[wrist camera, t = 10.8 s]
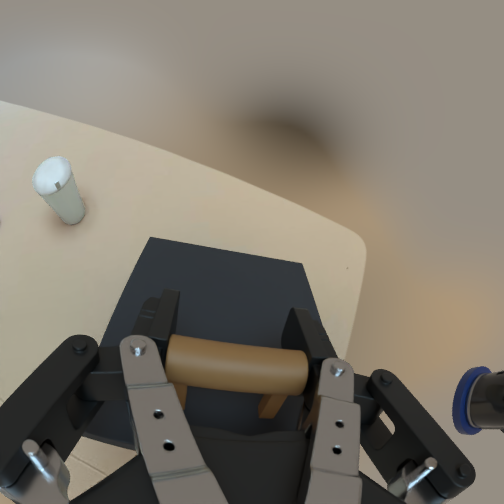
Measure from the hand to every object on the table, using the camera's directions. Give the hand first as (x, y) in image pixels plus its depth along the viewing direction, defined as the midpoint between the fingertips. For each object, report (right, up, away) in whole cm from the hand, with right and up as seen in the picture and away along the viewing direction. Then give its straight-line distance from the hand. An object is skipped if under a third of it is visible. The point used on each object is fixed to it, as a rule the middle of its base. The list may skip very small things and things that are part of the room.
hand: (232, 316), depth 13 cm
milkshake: (-20, +7, +18) cm, 28 cm away
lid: (-1, -2, +4) cm, 4 cm away
